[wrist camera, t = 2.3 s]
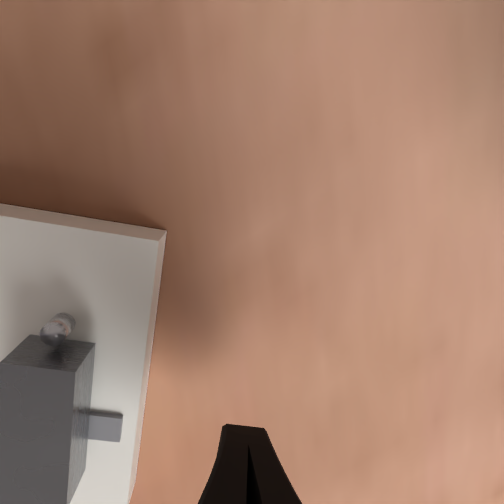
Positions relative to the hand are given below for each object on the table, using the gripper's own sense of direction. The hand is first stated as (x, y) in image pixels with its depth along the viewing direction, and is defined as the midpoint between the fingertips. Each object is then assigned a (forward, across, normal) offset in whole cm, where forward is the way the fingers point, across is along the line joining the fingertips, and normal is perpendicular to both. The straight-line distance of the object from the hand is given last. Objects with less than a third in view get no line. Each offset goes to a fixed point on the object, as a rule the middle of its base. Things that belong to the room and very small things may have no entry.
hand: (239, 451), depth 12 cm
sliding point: (+1, +6, 0) cm, 6 cm away
